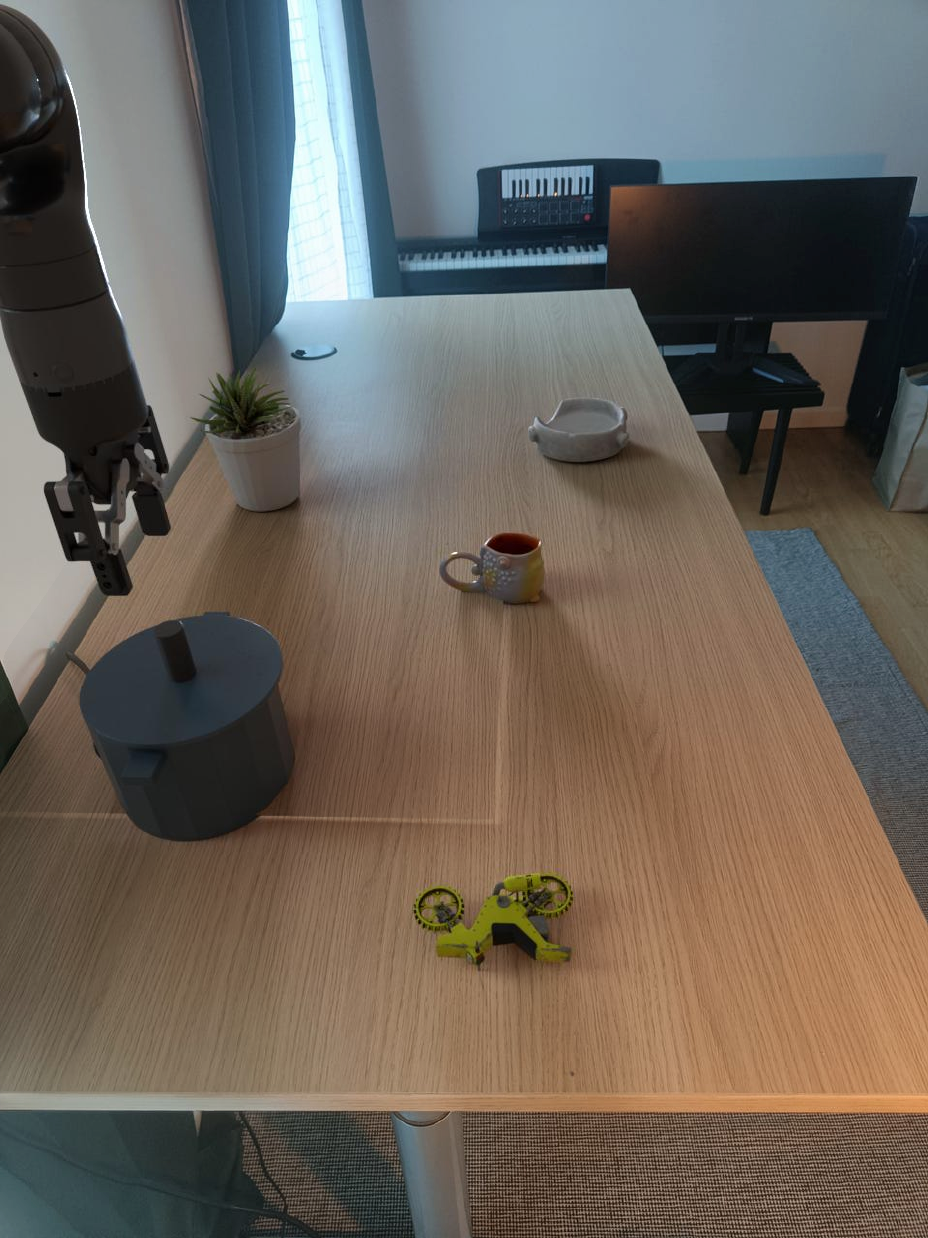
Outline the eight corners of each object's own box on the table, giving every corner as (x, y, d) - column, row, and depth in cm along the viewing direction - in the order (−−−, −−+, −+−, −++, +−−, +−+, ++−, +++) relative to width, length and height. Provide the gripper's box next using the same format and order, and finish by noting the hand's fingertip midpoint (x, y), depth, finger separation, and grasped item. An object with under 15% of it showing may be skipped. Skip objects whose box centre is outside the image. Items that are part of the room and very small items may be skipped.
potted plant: (205, 493, 124) (170, 356, 113) (297, 469, 129) (272, 335, 117) (228, 532, 115) (192, 387, 103) (326, 504, 120) (302, 362, 108)
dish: (523, 461, 127) (522, 429, 124) (547, 422, 138) (547, 392, 135) (621, 471, 123) (623, 439, 120) (638, 430, 134) (640, 399, 131)
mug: (542, 572, 104) (542, 524, 100) (546, 606, 98) (547, 556, 94) (442, 577, 104) (438, 529, 100) (440, 610, 99) (436, 561, 95)
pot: (81, 865, 72) (32, 769, 65) (166, 696, 89) (135, 605, 82) (264, 869, 71) (234, 771, 64) (315, 697, 88) (296, 604, 81)
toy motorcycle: (568, 856, 66) (587, 939, 60) (567, 887, 68) (585, 969, 63) (410, 874, 65) (415, 960, 60) (414, 904, 68) (419, 989, 62)
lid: (53, 759, 67) (26, 702, 63) (118, 629, 80) (99, 576, 77) (267, 749, 67) (252, 691, 63) (297, 620, 80) (286, 566, 76)
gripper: (67, 328, 65) (127, 517, 75) (-32, 405, 54) (53, 615, 63) (164, 326, 65) (212, 516, 74) (85, 403, 53) (153, 616, 63)
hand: (139, 562), depth 69 cm, fingers open, 8 cm apart
